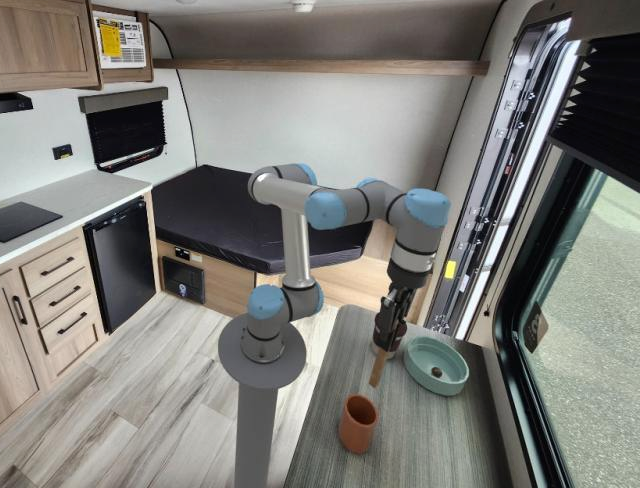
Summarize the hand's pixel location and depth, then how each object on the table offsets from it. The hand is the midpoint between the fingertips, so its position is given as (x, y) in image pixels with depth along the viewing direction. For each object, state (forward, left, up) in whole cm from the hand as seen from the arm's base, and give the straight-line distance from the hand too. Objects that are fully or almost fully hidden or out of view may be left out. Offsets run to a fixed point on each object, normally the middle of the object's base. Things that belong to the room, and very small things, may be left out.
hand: (385, 344), depth 73 cm
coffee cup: (-9, +29, -32) cm, 45 cm away
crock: (0, -3, -32) cm, 32 cm away
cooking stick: (0, 0, -14) cm, 14 cm away
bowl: (+5, +35, -32) cm, 48 cm away
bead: (+6, +34, -30) cm, 46 cm away
